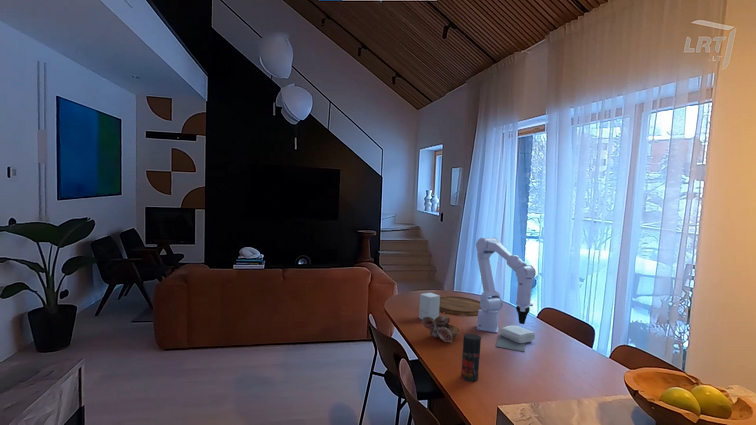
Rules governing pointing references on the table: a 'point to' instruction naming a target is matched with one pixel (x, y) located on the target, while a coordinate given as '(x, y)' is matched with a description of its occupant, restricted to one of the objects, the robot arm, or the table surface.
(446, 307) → the cutting board
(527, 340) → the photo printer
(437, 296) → the supplement box
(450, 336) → the seed pod
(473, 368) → the deodorant
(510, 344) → the mat
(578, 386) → the table surface
